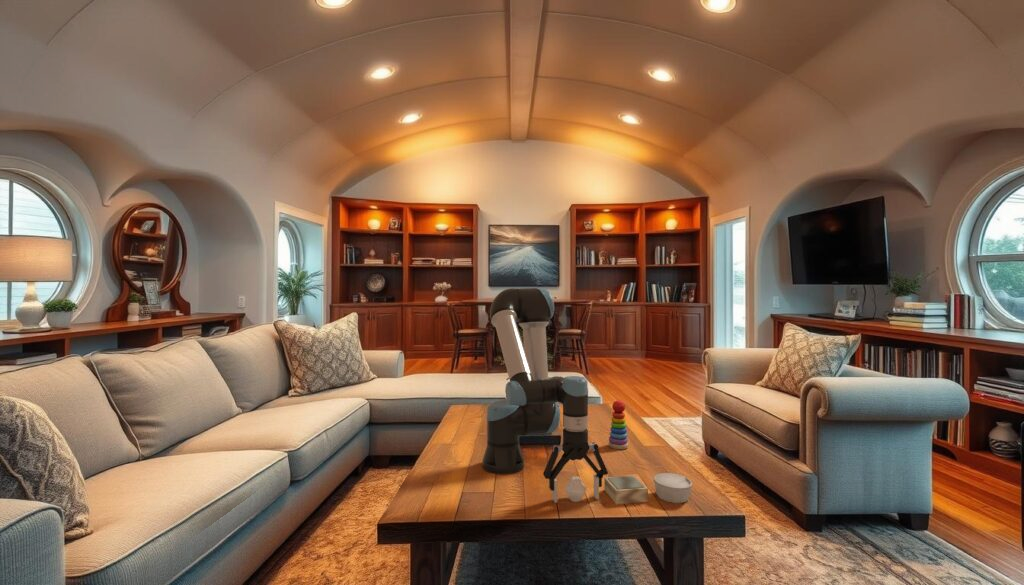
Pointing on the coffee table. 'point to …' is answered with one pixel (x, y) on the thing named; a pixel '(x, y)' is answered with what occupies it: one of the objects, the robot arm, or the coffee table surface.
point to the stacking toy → (618, 427)
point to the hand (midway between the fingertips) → (575, 499)
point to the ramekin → (672, 487)
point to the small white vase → (575, 489)
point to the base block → (625, 489)
